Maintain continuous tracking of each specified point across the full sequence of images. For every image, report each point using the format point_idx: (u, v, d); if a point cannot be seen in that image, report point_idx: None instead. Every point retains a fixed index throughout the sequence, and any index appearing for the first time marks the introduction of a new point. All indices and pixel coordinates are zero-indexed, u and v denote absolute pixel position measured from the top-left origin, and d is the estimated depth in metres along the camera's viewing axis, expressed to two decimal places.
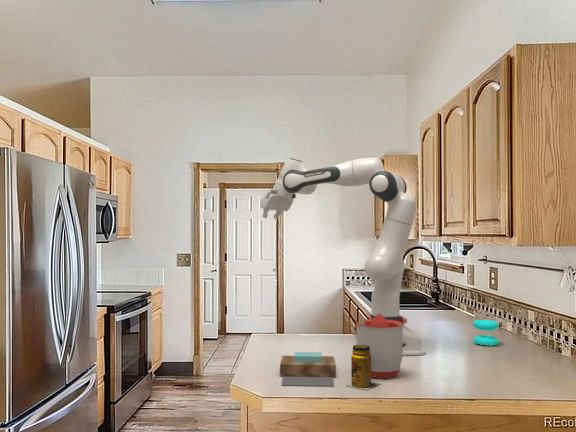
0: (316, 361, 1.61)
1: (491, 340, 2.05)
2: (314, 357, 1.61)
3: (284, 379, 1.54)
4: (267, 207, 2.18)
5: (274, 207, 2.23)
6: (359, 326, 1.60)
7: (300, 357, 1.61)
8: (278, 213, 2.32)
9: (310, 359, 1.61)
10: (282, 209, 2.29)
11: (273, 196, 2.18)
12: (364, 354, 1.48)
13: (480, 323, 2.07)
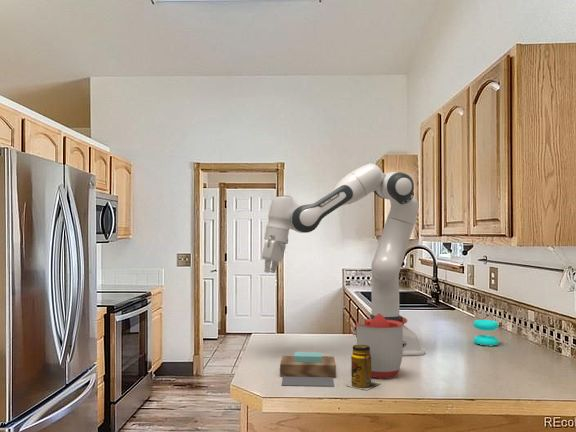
0: (316, 361, 1.61)
1: (491, 340, 2.05)
2: (314, 357, 1.61)
3: (284, 379, 1.54)
4: (272, 257, 1.78)
5: (275, 257, 1.83)
6: (359, 326, 1.60)
7: (300, 357, 1.61)
8: (274, 266, 1.91)
9: (310, 359, 1.61)
10: (279, 259, 1.90)
11: (275, 242, 1.79)
12: (364, 354, 1.48)
13: (480, 323, 2.07)
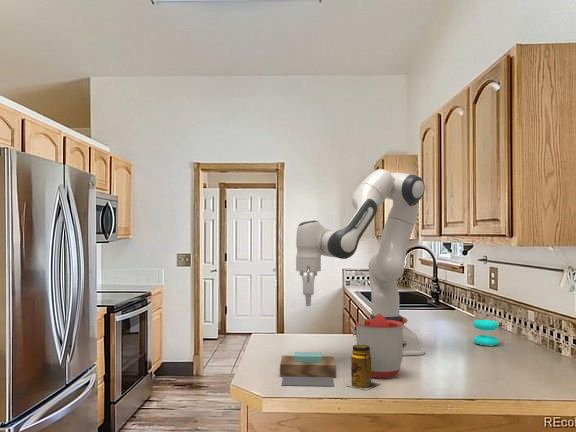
0: (316, 361, 1.61)
1: (491, 340, 2.05)
2: (314, 357, 1.61)
3: (284, 379, 1.54)
4: (313, 291, 1.65)
5: None
6: (359, 326, 1.60)
7: (300, 357, 1.61)
8: None
9: (310, 359, 1.61)
10: None
11: (313, 274, 1.66)
12: (364, 354, 1.48)
13: (480, 323, 2.07)
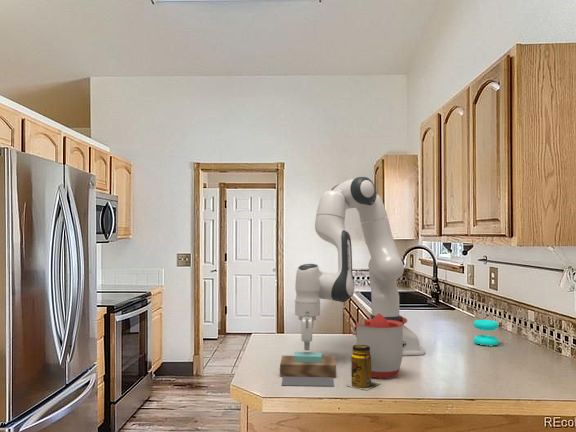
0: (316, 361, 1.61)
1: (491, 340, 2.05)
2: (314, 357, 1.61)
3: (284, 379, 1.54)
4: None
5: None
6: (359, 326, 1.60)
7: (300, 357, 1.61)
8: None
9: (310, 359, 1.61)
10: None
11: (312, 321, 1.66)
12: (364, 354, 1.48)
13: (480, 323, 2.07)
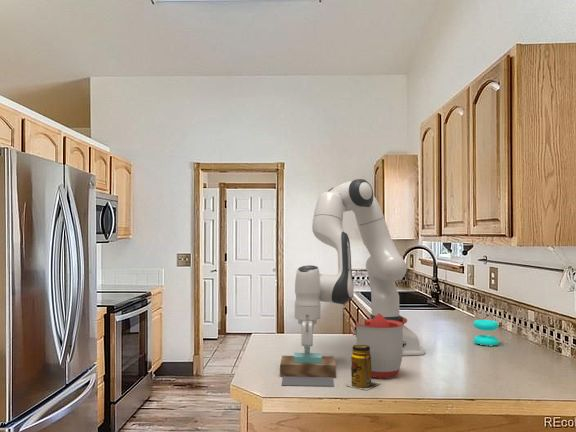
0: (316, 362, 1.60)
1: (491, 340, 2.05)
2: (314, 358, 1.60)
3: (284, 379, 1.54)
4: (312, 342, 1.59)
5: None
6: (359, 326, 1.60)
7: (300, 358, 1.60)
8: None
9: (310, 360, 1.60)
10: None
11: (312, 324, 1.60)
12: (364, 354, 1.48)
13: (480, 323, 2.07)
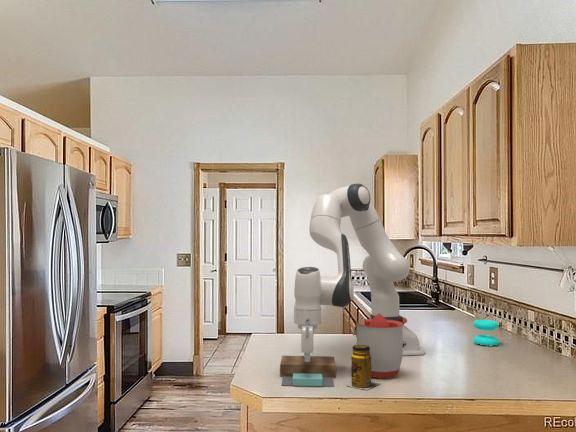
0: None
1: (491, 340, 2.05)
2: None
3: (284, 379, 1.54)
4: None
5: None
6: (359, 326, 1.60)
7: None
8: None
9: None
10: None
11: (313, 330, 1.51)
12: (364, 354, 1.48)
13: (480, 323, 2.07)
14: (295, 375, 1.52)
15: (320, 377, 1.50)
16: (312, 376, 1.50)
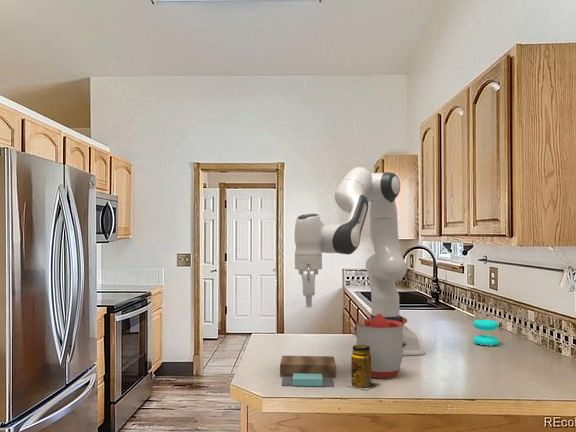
0: None
1: (491, 340, 2.05)
2: None
3: (284, 379, 1.54)
4: (314, 291, 1.49)
5: None
6: (359, 326, 1.60)
7: None
8: None
9: None
10: None
11: (314, 273, 1.50)
12: (364, 354, 1.48)
13: (480, 323, 2.07)
14: (295, 375, 1.52)
15: (320, 377, 1.50)
16: (312, 376, 1.50)
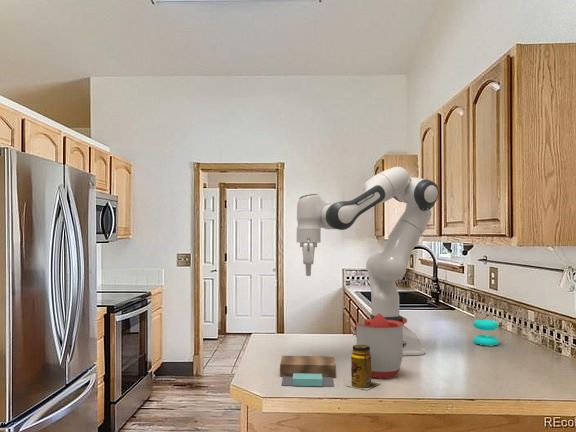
0: None
1: (491, 340, 2.05)
2: None
3: (284, 379, 1.54)
4: (313, 261, 1.71)
5: None
6: (359, 326, 1.60)
7: None
8: None
9: None
10: None
11: (313, 245, 1.72)
12: (364, 354, 1.48)
13: (480, 323, 2.07)
14: (295, 375, 1.52)
15: (320, 377, 1.50)
16: (312, 376, 1.50)
